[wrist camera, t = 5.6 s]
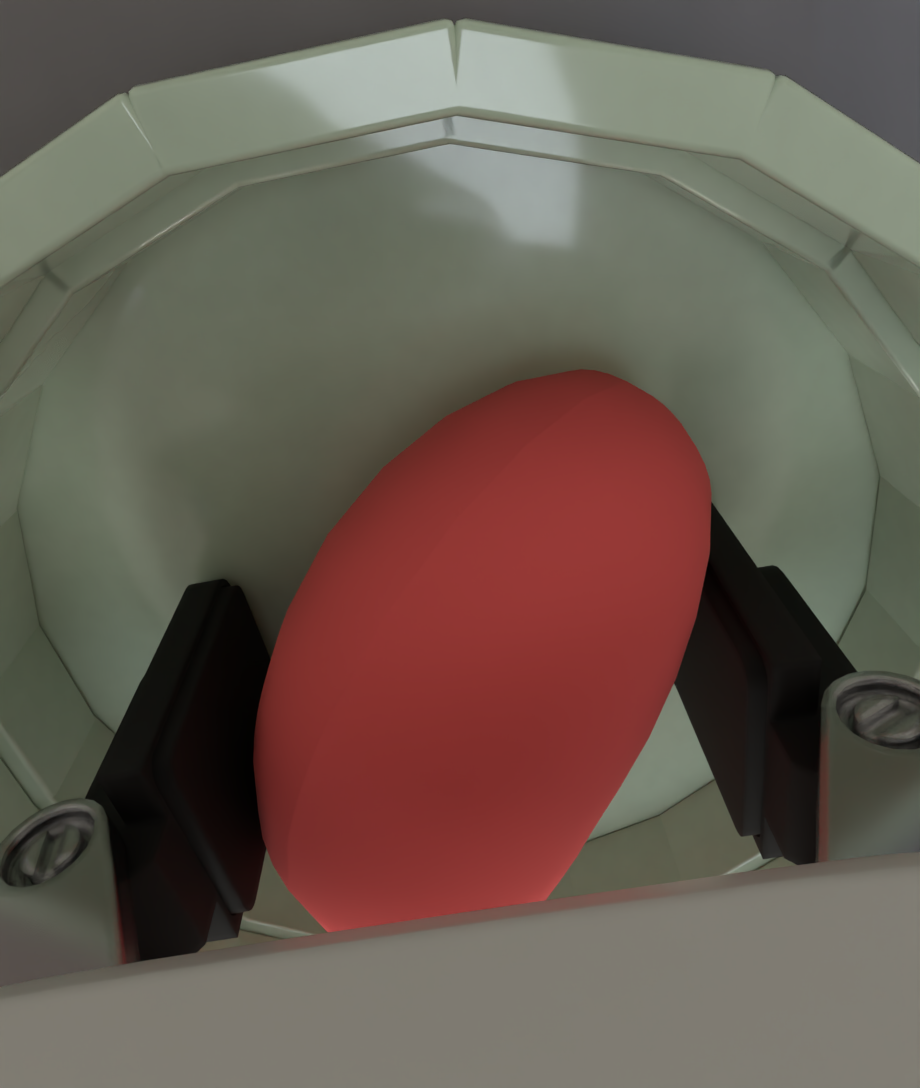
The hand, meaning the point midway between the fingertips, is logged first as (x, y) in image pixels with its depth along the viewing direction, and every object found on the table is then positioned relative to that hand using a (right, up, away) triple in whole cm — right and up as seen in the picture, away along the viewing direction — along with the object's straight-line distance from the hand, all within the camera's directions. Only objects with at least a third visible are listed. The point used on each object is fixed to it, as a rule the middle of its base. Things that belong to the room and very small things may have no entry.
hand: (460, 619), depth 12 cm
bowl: (0, 0, +1) cm, 1 cm away
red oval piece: (0, 0, +1) cm, 1 cm away
